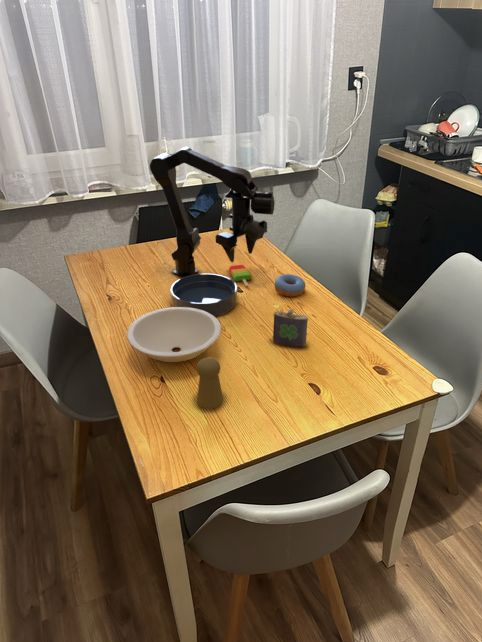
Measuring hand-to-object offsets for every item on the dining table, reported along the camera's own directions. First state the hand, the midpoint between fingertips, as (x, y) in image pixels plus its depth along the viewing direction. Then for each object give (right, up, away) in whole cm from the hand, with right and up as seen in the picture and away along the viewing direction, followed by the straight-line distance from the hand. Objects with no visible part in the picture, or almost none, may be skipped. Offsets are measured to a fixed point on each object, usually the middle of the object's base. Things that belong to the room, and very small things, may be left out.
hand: (241, 257), depth 164 cm
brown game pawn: (-5, -41, -50) cm, 65 cm away
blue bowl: (-11, -15, -10) cm, 21 cm away
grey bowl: (-16, -30, -33) cm, 47 cm away
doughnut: (+16, -12, -3) cm, 20 cm away
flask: (+14, -28, -29) cm, 43 cm away
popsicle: (0, -7, +4) cm, 8 cm away
